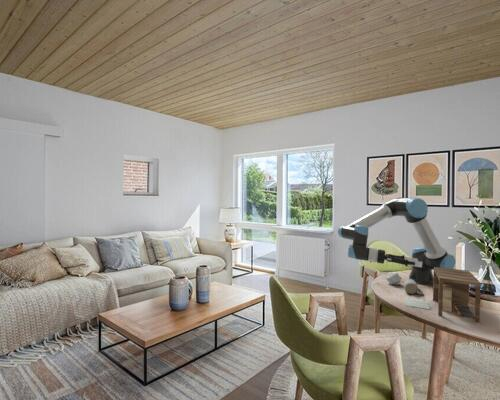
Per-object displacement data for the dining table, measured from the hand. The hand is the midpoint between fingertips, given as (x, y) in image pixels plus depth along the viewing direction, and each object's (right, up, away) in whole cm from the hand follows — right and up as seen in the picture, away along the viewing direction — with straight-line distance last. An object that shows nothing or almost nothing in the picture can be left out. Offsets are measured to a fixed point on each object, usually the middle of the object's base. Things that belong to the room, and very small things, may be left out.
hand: (419, 263), depth 159 cm
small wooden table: (+13, -22, -8) cm, 27 cm away
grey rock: (+3, -22, +36) cm, 42 cm away
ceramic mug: (+7, -22, +19) cm, 30 cm away
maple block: (+9, -22, -6) cm, 25 cm away
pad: (-2, -22, 0) cm, 22 cm away
